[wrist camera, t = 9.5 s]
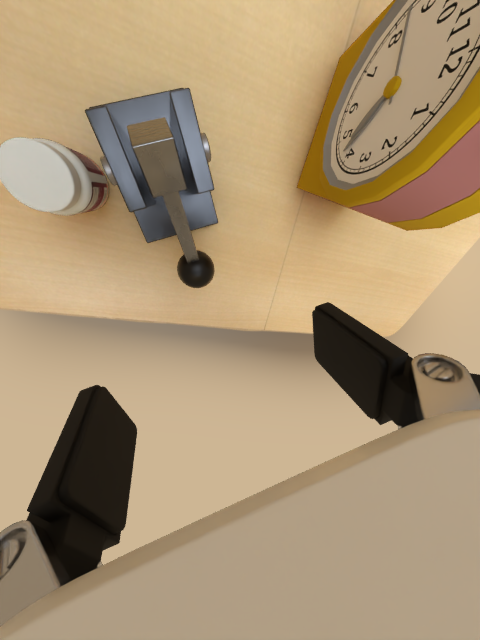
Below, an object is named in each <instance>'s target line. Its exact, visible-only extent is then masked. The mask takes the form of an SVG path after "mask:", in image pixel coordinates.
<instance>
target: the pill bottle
mask: <svg viewBox="0 0 480 640" xmlns="http://www.w3.org/2000/svg"><path fill="white" fill-rule="evenodd" d="M0 180H1V182H2V183H3V185H4V186H5V188H6V189H7V190H8V191H9V192H10V193H11V194H12V195H13V196H14V197H15V198H16V199H17V200H18V201H20V202H21V203H23V204H24V205H26V206H28V207H30V208H32V209H35V210H39V211H43V212H50V213H52V214H57V215H64V216H68V215H75V214H79V213H84V212H89V211H93V210H96V209H99V208H100V207H102V206H103V205H104V204H105V202H106V200H107V198H108V194H109V188H108V182H107V179H106V177H105V175H104V173H103V172H102V170H101V169H100V167H99V166H98V165H97V164H96V163H95V162H94V161H92V160H91V159H90V158H88V157H86V156H84V155H82V154H81V153H78V152H76V151H74V150H72V149H70V148H67V147H65V146H63V145H61V144H59V143H57V142H54V141H52V140H48V139H41V138H33V139H30V138H24V137H18V138H12V139H9V140H7V141H5V142H4V143H2V145H1V146H0Z"/></svg>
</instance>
